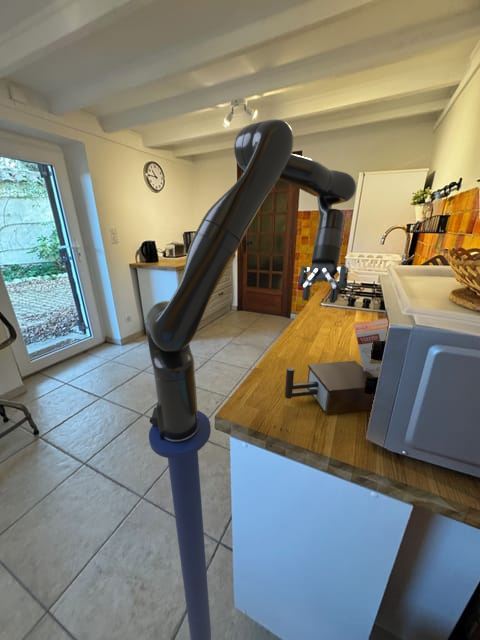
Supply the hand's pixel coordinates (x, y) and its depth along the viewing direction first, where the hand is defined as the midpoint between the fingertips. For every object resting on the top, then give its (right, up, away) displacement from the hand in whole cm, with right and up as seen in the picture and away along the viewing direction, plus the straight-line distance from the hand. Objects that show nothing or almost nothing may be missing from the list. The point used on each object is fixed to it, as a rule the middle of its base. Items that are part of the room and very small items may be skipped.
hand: (318, 301), depth 75 cm
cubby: (+6, -28, -1) cm, 29 cm away
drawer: (+1, -28, -1) cm, 28 cm away
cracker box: (+22, -25, +1) cm, 33 cm away
